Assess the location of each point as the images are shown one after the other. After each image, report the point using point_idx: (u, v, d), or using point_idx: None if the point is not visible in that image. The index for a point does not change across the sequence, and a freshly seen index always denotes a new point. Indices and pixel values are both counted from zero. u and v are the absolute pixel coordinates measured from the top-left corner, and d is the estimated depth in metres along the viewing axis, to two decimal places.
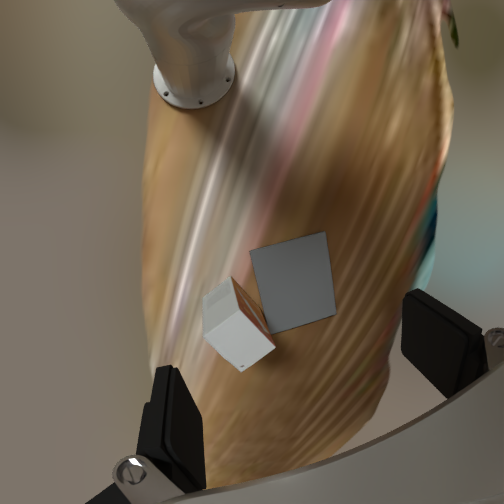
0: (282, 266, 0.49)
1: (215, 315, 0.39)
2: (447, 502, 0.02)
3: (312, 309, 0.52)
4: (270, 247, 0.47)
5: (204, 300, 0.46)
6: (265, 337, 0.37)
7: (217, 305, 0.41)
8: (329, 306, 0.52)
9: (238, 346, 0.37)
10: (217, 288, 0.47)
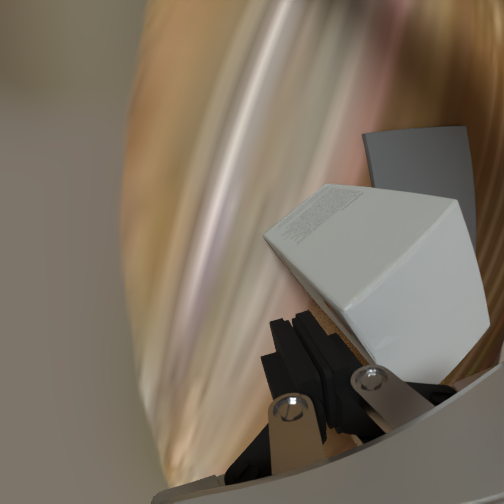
0: (417, 172, 0.21)
1: (354, 241, 0.12)
2: (447, 502, 0.02)
3: None
4: (398, 132, 0.20)
5: (273, 234, 0.19)
6: (484, 297, 0.10)
7: (336, 225, 0.14)
8: None
9: (434, 332, 0.10)
10: (302, 207, 0.20)
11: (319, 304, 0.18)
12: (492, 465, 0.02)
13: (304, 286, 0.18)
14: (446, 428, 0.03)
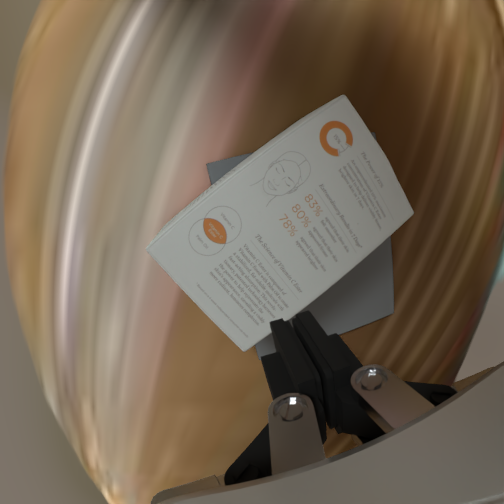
0: None
1: (289, 128, 0.16)
2: (447, 502, 0.02)
3: (350, 305, 0.23)
4: None
5: (174, 221, 0.14)
6: None
7: (253, 154, 0.16)
8: (383, 297, 0.24)
9: None
10: (170, 221, 0.17)
11: (277, 254, 0.15)
12: (492, 465, 0.02)
13: (247, 251, 0.14)
14: (446, 428, 0.03)
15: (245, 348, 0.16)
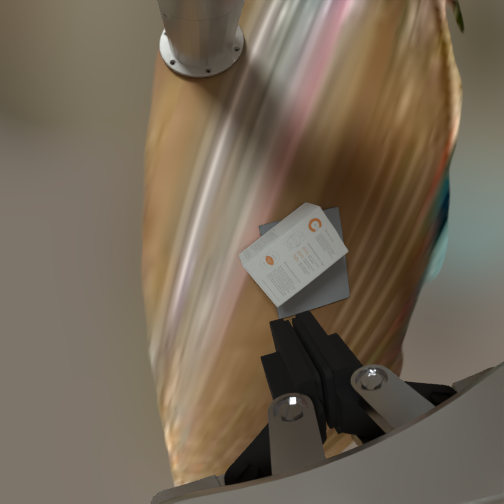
0: None
1: (297, 216, 0.40)
2: (447, 502, 0.02)
3: (324, 291, 0.48)
4: None
5: (253, 256, 0.39)
6: None
7: (282, 227, 0.41)
8: (342, 287, 0.49)
9: None
10: (247, 254, 0.42)
11: (291, 268, 0.39)
12: (492, 465, 0.02)
13: (280, 267, 0.39)
14: (446, 428, 0.03)
15: (278, 305, 0.41)
